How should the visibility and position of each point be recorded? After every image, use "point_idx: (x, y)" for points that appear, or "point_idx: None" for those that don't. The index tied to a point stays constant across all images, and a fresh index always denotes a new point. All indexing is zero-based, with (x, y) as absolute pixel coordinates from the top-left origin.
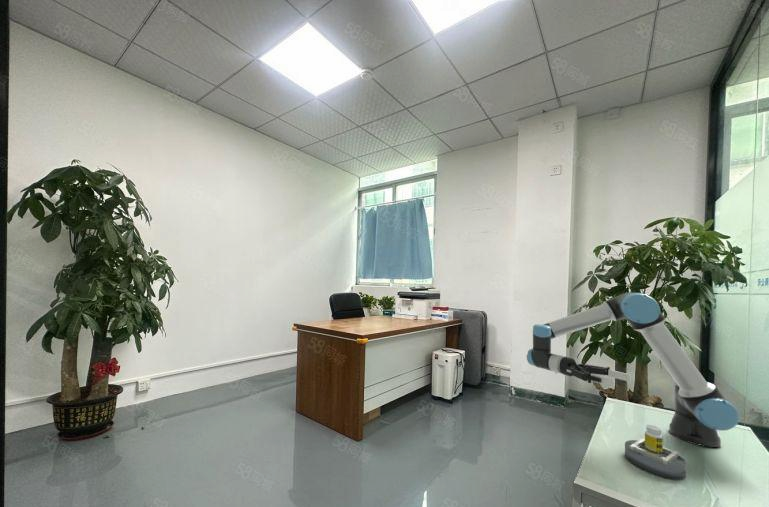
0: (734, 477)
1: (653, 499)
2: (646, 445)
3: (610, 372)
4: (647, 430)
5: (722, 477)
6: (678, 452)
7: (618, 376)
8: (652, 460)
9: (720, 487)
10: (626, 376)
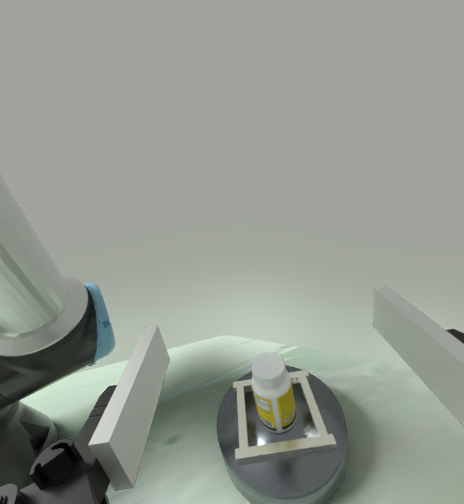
0: (181, 365)
1: None
2: (293, 411)
3: (126, 436)
4: (284, 379)
5: (199, 369)
6: (233, 382)
7: (153, 389)
8: (324, 394)
9: (241, 358)
10: (161, 340)
